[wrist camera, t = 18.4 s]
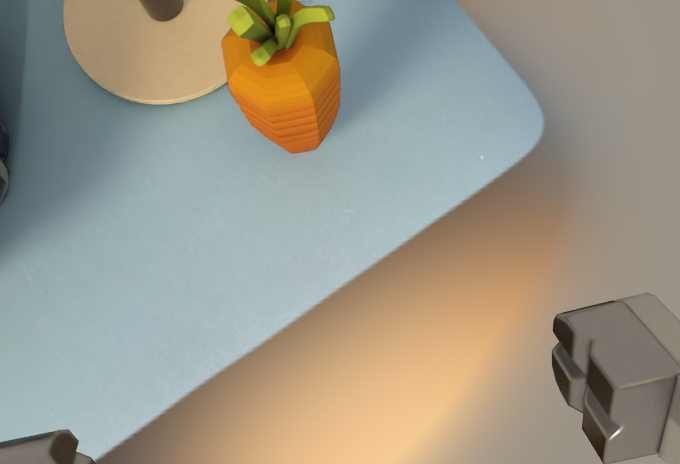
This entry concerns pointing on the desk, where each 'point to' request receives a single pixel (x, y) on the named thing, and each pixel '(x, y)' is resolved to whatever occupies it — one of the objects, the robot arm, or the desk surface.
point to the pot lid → (150, 46)
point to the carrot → (284, 70)
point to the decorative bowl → (0, 171)
